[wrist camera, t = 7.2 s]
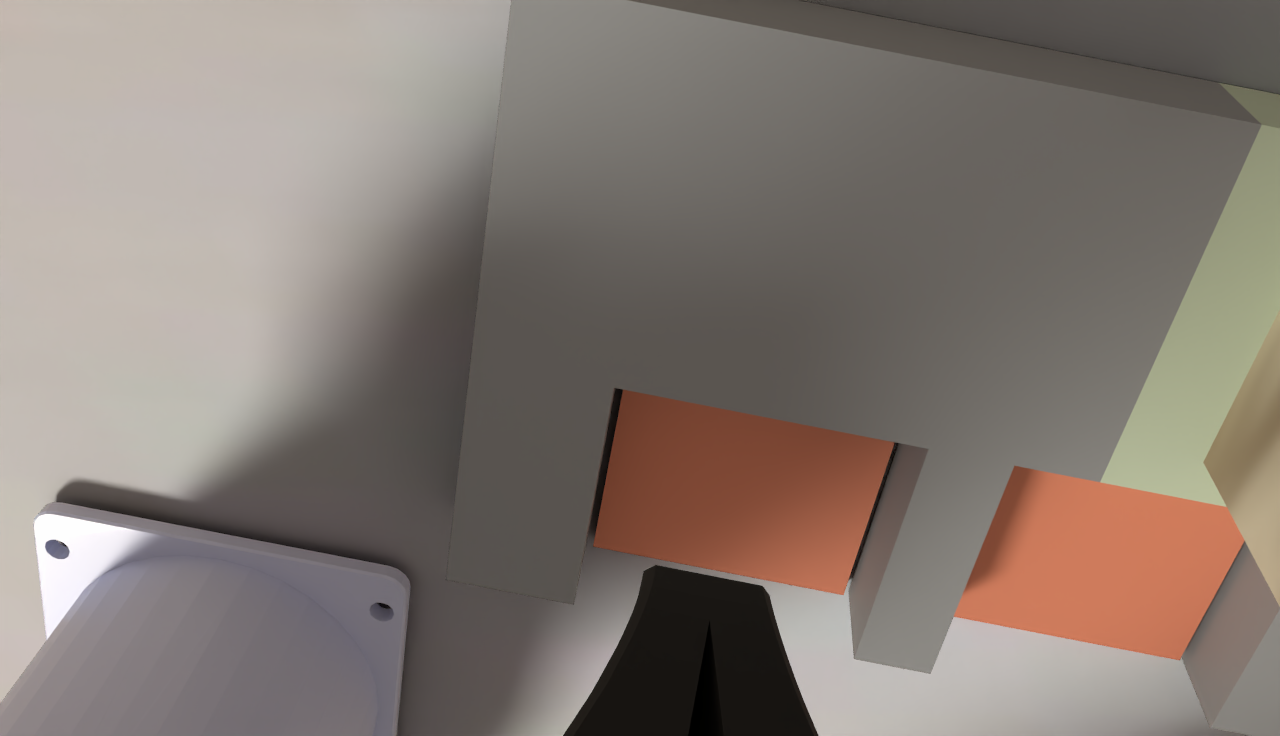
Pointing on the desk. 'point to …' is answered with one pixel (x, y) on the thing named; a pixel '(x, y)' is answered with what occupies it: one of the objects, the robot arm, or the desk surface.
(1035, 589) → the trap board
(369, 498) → the desk surface
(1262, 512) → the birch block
